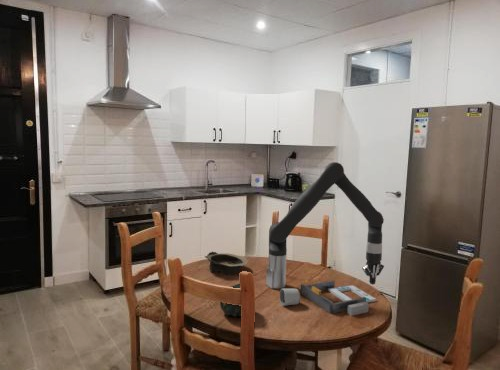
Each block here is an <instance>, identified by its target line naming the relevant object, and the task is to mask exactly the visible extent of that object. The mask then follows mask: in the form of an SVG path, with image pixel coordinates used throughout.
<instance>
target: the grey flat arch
mask: <svg viewBox="0 0 500 370" xmlns="http://www.w3.org/2000/svg"><path fill="white" fill-rule="evenodd" d="M327 291H328V292H329V293H331V294H332V295H334V296H335V297H336V298H337V299H340V300H341V301H342V302H343V301H347V300H352V298H351V297H349V296H347V295H346V294H344V293H343V292H349V291H350V292H352V293H354V294H356V295H357V296H358V297H359V298H362V297H365V298H366V303H368V304H369V303H373V302H376V301H377V298H376V297H374V296H372V295H371V294H369V293H367V292H365V291H363V290H362V289H360V288H358V287H357V286H355V285H344V286H338V287H334V288H329V289H328V290H327Z"/></svg>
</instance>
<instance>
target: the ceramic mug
mask: <svg viewBox="0 0 500 370" xmlns="http://www.w3.org/2000/svg"><path fill="white" fill-rule="evenodd" d="M301 300H302V299H301V291H300V290H299V289H298V288H280V291H279V303H280V305H281V306H282V307H283V306H296V305H299V304H300V303H301Z"/></svg>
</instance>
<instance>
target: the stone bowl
mask: <svg viewBox="0 0 500 370" xmlns="http://www.w3.org/2000/svg"><path fill="white" fill-rule="evenodd" d="M204 258H205V259H207V260H208V261H209V262H210V263H209V271H211V272H221V273H222V275H226V276H229V275H233V274H235V273H239V272H240V270H241V269H242V267H243V266H245V265H247V263H248V259H247V258H245V257H244V256H240V255H237V254H233V253H218V252H216V251H211V252H209V253H208V254H207V255H205V256H204Z"/></svg>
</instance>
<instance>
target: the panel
mask: <svg viewBox="0 0 500 370" xmlns="http://www.w3.org/2000/svg"><path fill="white" fill-rule="evenodd" d="M369 306H370V303H369V302H368V303H366V302H361V303H357V304H352V305H348V310H347V311H346V312H347V315H349V316H351V317H353V316H356V315H360V314H365V313H369Z"/></svg>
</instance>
